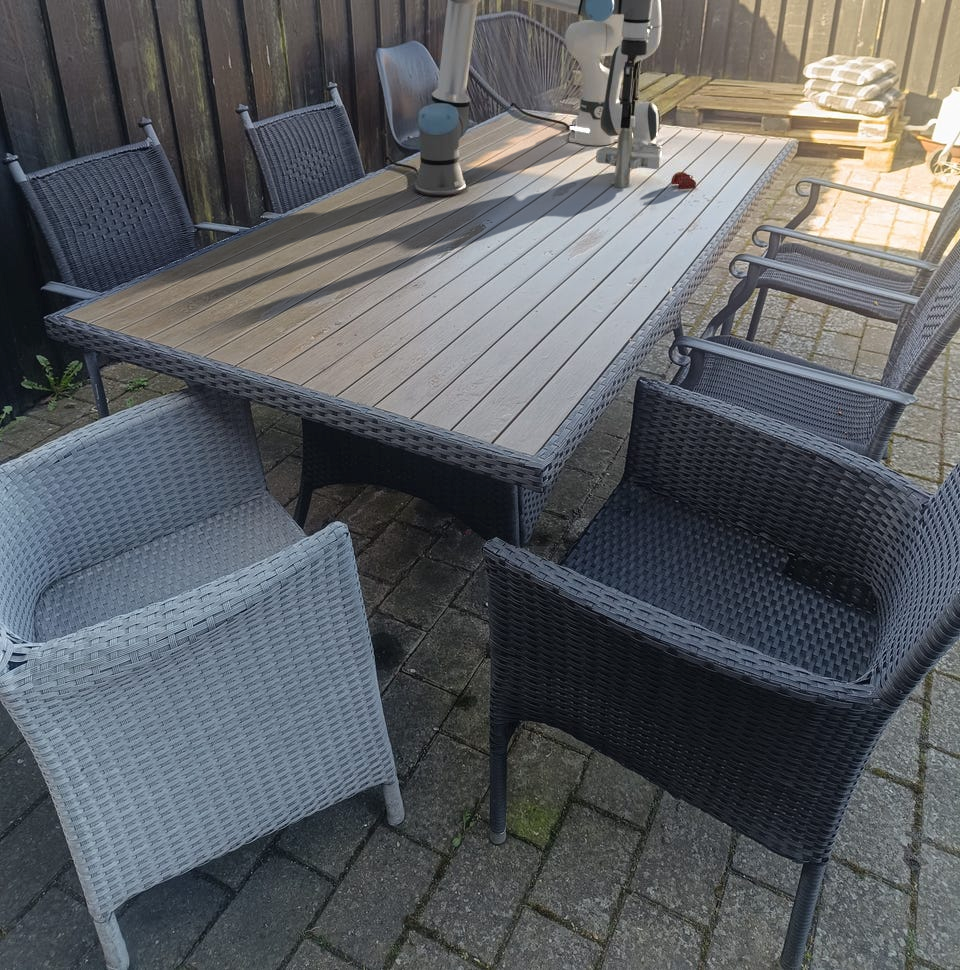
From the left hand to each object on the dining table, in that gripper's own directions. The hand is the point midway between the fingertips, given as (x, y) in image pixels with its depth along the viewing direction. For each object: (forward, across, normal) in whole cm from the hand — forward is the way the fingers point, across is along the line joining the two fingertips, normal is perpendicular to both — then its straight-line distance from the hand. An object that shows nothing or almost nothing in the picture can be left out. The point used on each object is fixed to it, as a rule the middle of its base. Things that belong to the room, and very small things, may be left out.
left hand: (626, 125), depth 252 cm
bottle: (+17, 0, 0) cm, 17 cm away
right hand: (+11, -1, 0) cm, 11 cm away
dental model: (+17, +5, -18) cm, 26 cm away
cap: (-2, 0, 0) cm, 2 cm away
